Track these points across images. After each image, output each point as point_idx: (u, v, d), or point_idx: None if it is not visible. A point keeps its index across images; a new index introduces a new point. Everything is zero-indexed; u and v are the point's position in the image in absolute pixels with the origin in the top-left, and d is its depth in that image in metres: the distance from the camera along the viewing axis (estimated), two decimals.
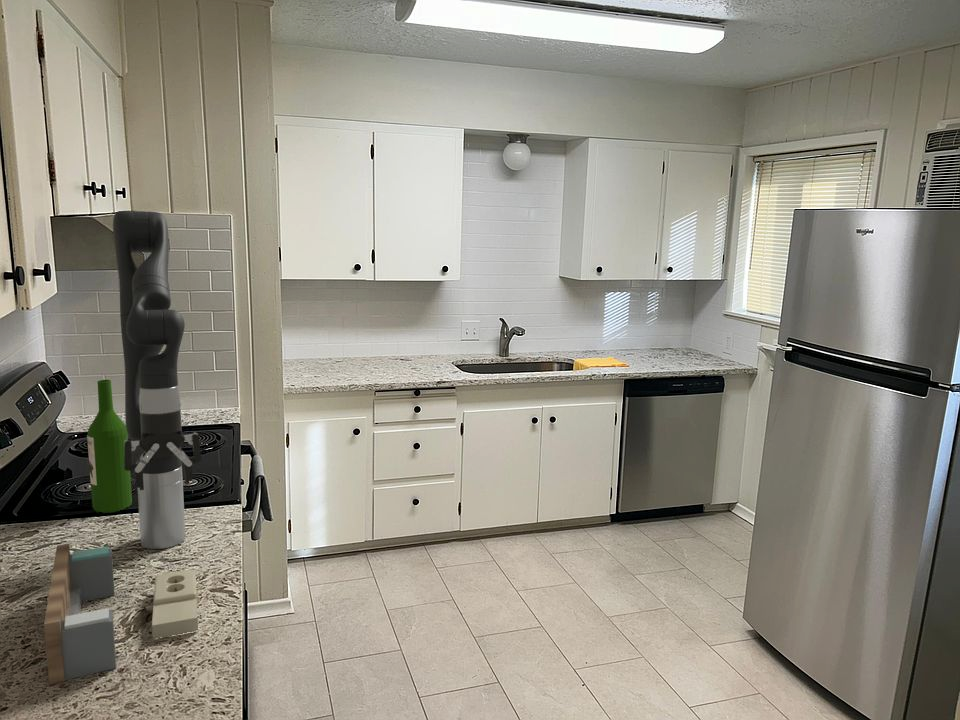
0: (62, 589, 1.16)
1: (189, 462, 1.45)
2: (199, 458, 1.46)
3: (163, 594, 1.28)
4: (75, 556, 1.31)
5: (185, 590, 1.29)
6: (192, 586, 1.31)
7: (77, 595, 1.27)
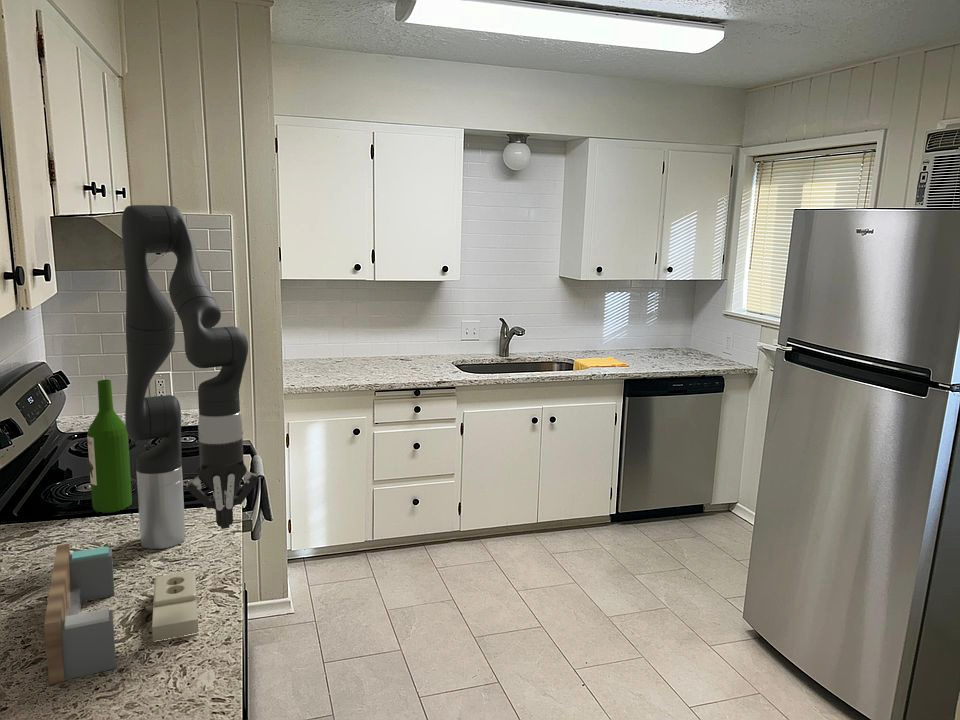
0: (62, 589, 1.16)
1: (229, 504, 1.30)
2: (241, 500, 1.31)
3: (163, 596, 1.27)
4: (75, 556, 1.31)
5: (185, 592, 1.29)
6: (192, 588, 1.30)
7: (77, 595, 1.27)
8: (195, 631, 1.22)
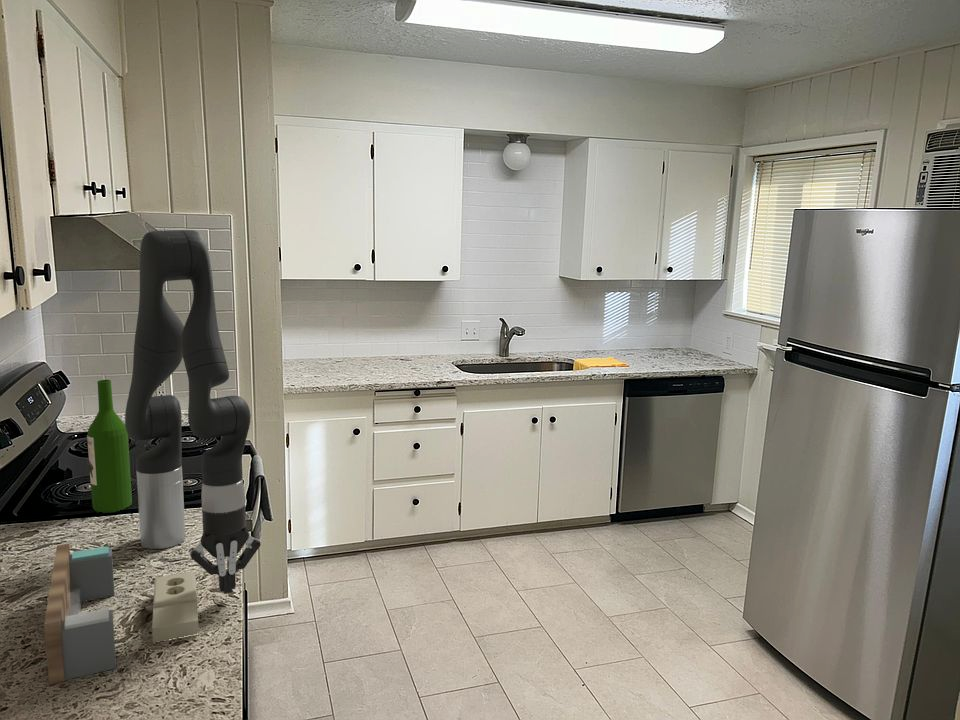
0: (62, 589, 1.16)
1: (232, 570, 1.32)
2: (244, 566, 1.32)
3: (163, 596, 1.27)
4: (75, 556, 1.31)
5: (185, 592, 1.29)
6: (192, 588, 1.30)
7: (77, 595, 1.27)
8: (195, 632, 1.21)
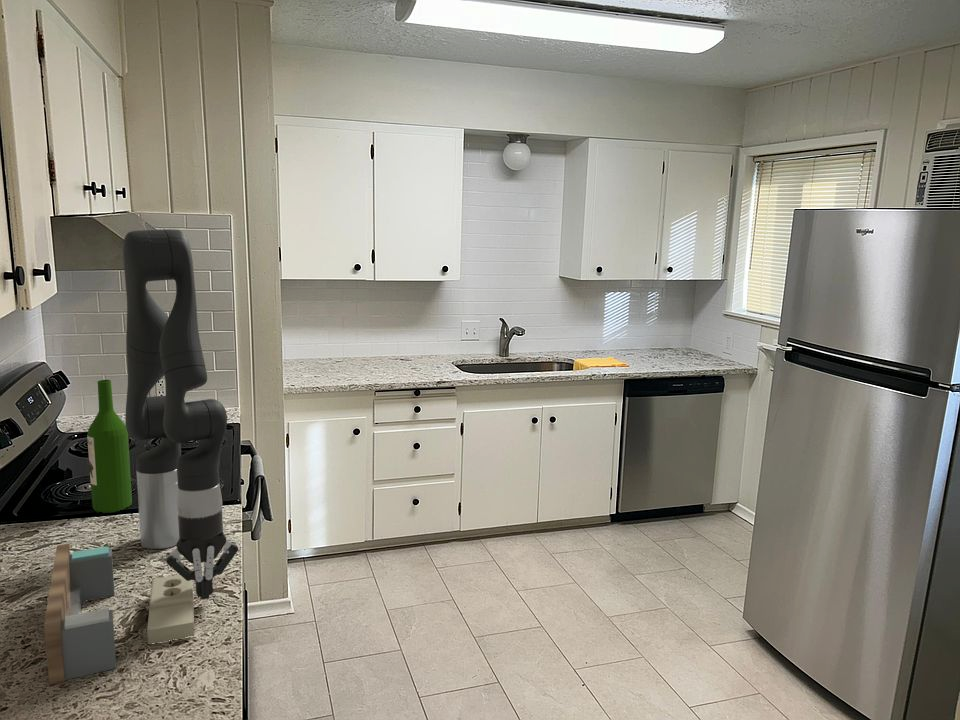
0: (62, 589, 1.16)
1: (209, 575, 1.30)
2: (221, 571, 1.31)
3: (159, 598, 1.26)
4: (75, 556, 1.31)
5: (182, 594, 1.28)
6: (189, 590, 1.29)
7: (77, 595, 1.27)
8: (191, 634, 1.21)
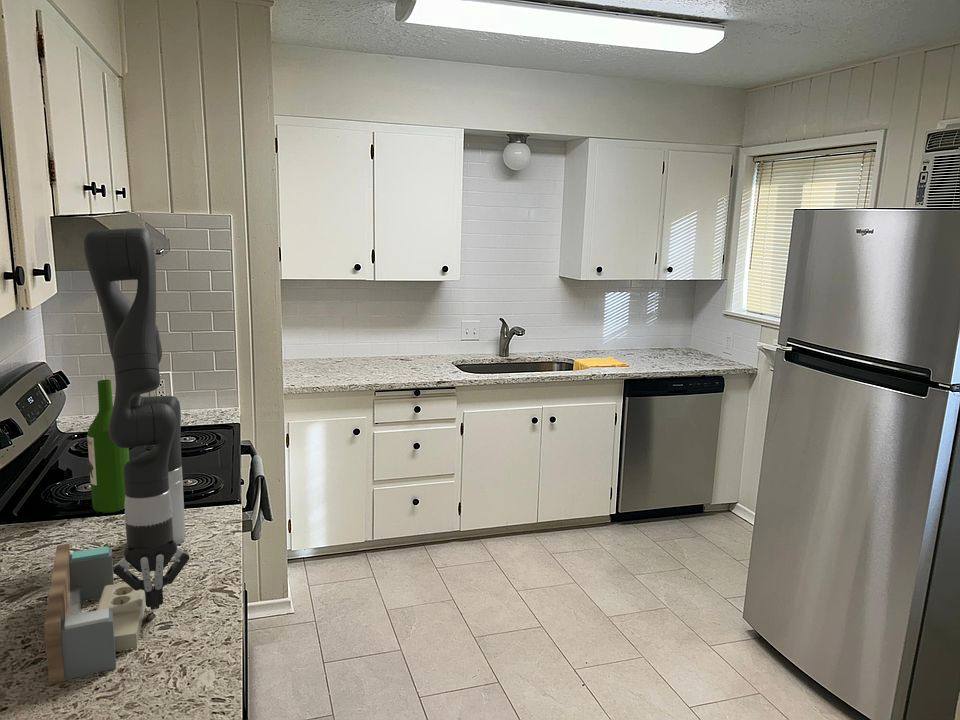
0: (62, 589, 1.16)
1: (159, 584, 1.26)
2: (171, 580, 1.27)
3: (106, 607, 1.23)
4: (75, 556, 1.31)
5: (130, 603, 1.25)
6: (138, 599, 1.26)
7: (77, 595, 1.27)
8: (133, 645, 1.17)
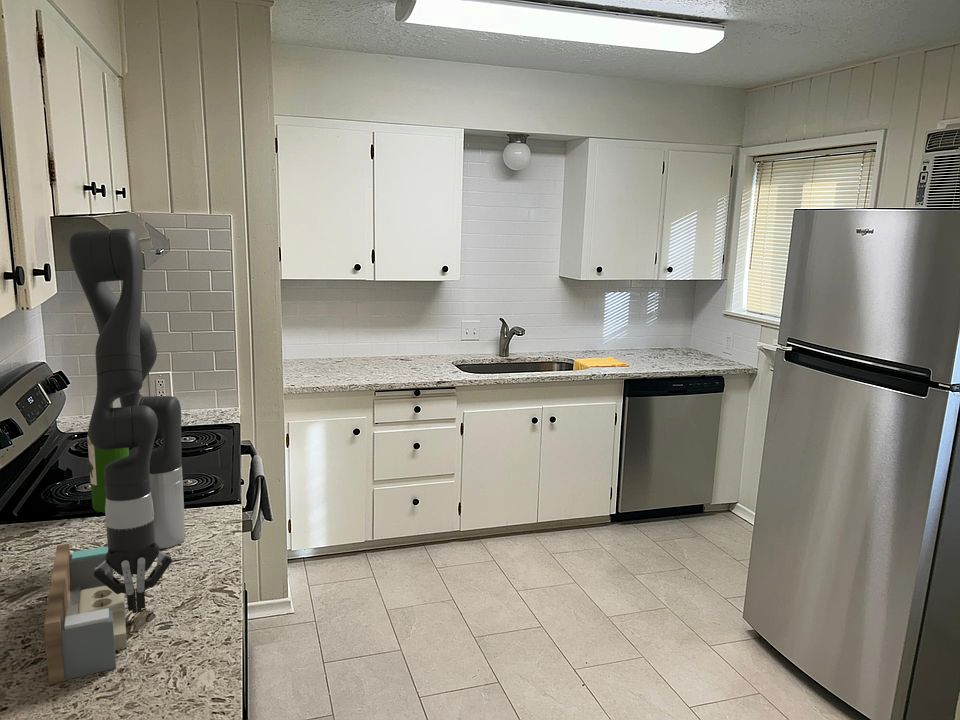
0: (62, 589, 1.16)
1: (141, 588, 1.25)
2: (153, 584, 1.26)
3: (88, 610, 1.22)
4: (75, 556, 1.31)
5: (112, 605, 1.24)
6: (120, 600, 1.25)
7: (77, 595, 1.27)
8: (123, 645, 1.17)
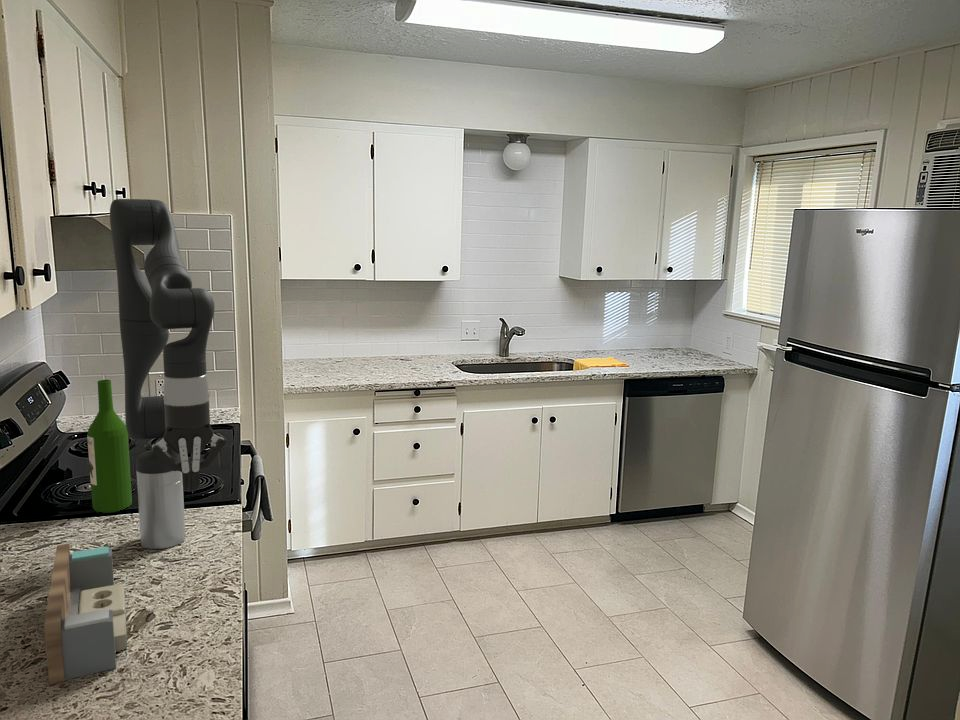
0: (62, 589, 1.16)
1: (196, 467, 1.29)
2: (208, 464, 1.30)
3: (89, 611, 1.22)
4: (75, 556, 1.31)
5: (113, 606, 1.24)
6: (120, 601, 1.25)
7: (77, 595, 1.27)
8: (123, 647, 1.17)
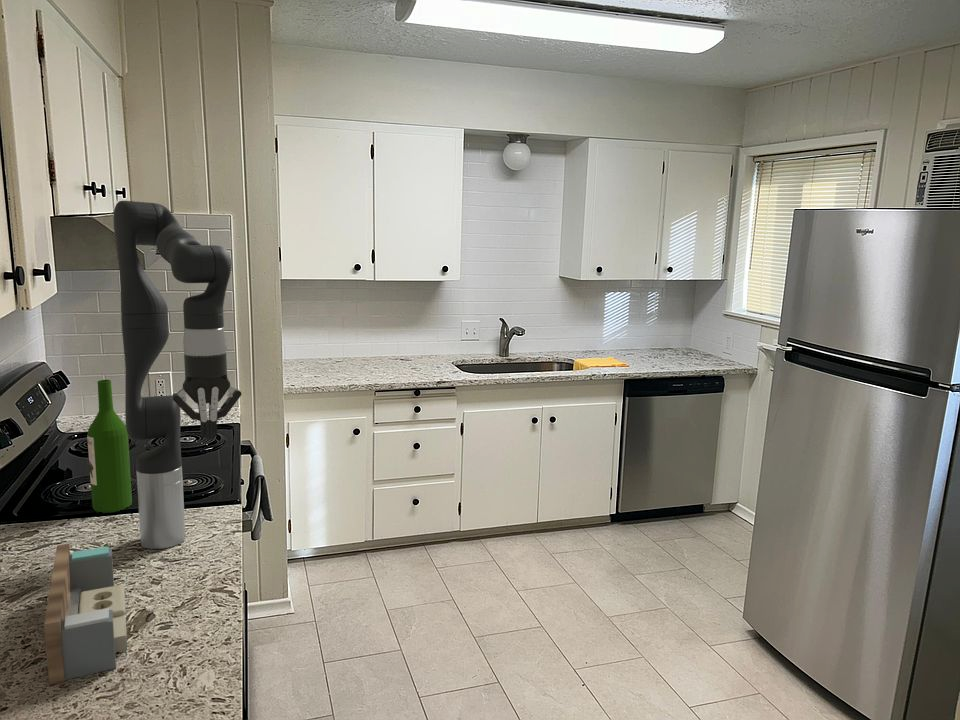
0: (62, 589, 1.16)
1: (214, 416, 1.36)
2: (225, 414, 1.37)
3: None
4: (75, 556, 1.31)
5: (113, 607, 1.23)
6: (120, 602, 1.25)
7: (77, 595, 1.27)
8: (123, 648, 1.16)
